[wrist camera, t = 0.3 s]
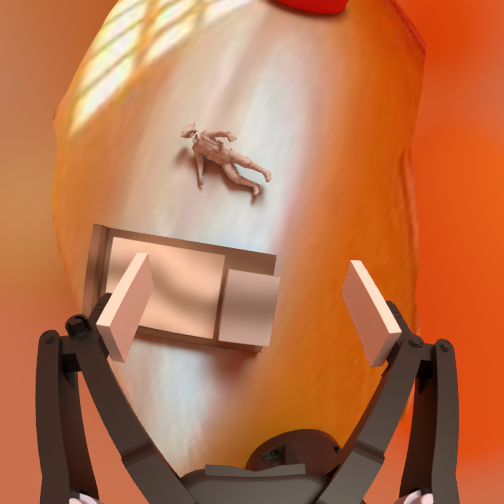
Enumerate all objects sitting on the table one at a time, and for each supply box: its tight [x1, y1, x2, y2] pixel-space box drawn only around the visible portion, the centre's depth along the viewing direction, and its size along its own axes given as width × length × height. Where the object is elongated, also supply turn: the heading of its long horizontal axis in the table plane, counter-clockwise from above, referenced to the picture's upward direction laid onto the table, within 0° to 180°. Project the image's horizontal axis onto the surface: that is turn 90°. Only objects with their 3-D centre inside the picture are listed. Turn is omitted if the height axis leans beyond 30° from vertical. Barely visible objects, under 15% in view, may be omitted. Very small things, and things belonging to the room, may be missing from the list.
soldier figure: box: [181, 123, 271, 196], centre depth 32 cm, size 8×5×12 cm
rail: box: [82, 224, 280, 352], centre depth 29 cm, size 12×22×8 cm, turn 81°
